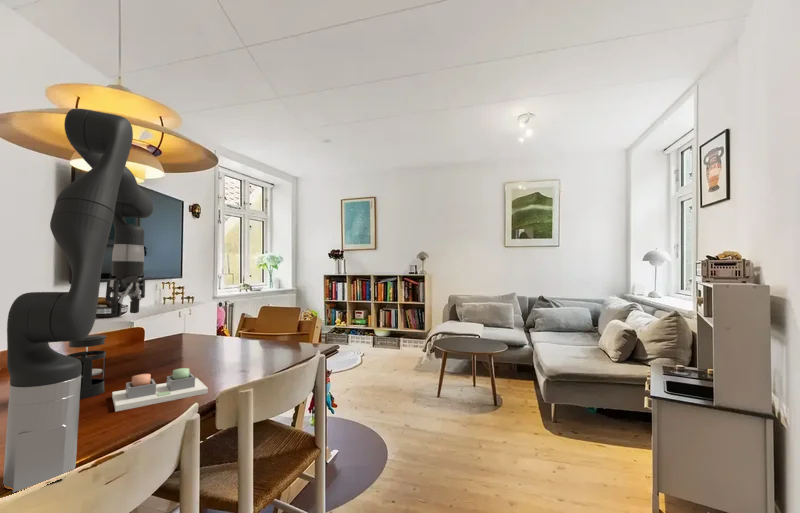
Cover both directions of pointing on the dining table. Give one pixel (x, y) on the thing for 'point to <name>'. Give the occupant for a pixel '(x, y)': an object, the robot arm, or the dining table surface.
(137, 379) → the terracotta button
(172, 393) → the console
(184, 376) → the sage button
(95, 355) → the french press
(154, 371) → the dining table surface
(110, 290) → the robot arm
